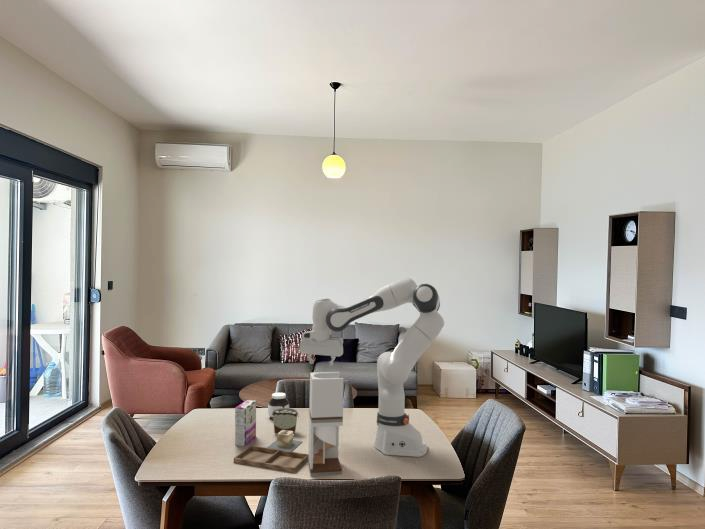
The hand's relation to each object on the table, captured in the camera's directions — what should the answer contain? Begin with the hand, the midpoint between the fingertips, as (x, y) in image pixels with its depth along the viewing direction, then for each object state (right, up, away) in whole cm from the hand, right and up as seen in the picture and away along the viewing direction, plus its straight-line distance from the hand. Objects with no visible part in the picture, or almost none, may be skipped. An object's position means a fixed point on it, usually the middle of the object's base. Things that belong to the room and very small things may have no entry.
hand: (321, 364), depth 206 cm
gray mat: (-14, -31, -16) cm, 37 cm away
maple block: (-14, -30, -16) cm, 37 cm away
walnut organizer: (-17, -31, -32) cm, 47 cm away
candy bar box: (-32, -31, -12) cm, 46 cm away
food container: (-16, -31, +1) cm, 35 cm away
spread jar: (-23, -31, +22) cm, 44 cm away
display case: (+4, -31, -37) cm, 48 cm away
